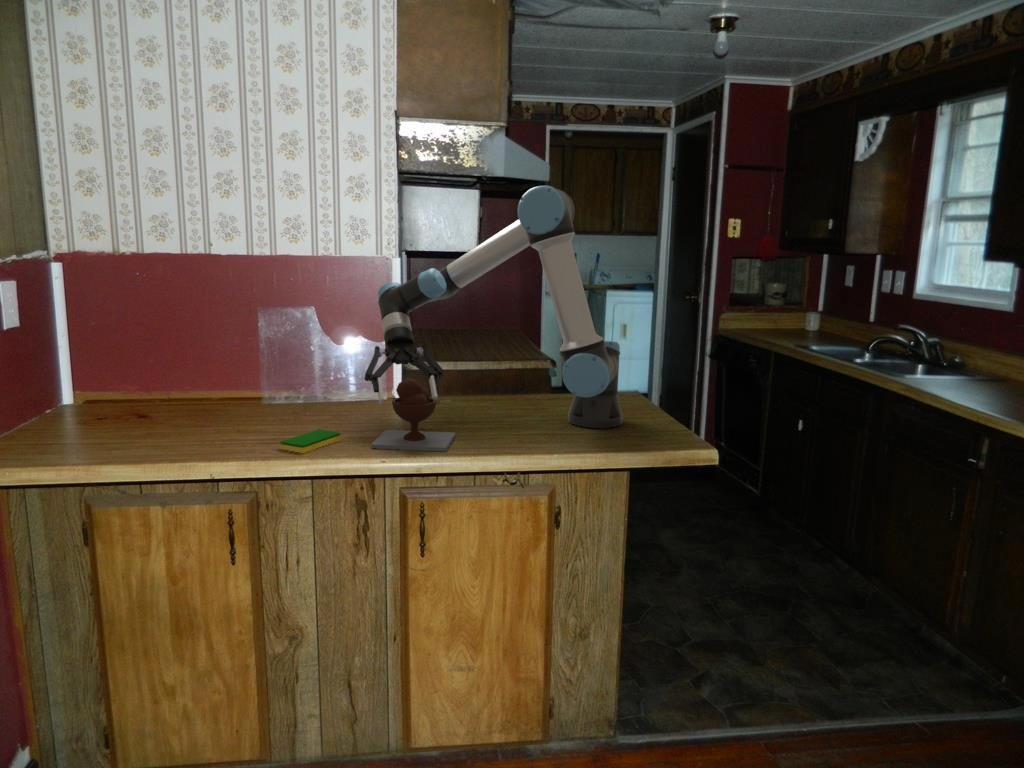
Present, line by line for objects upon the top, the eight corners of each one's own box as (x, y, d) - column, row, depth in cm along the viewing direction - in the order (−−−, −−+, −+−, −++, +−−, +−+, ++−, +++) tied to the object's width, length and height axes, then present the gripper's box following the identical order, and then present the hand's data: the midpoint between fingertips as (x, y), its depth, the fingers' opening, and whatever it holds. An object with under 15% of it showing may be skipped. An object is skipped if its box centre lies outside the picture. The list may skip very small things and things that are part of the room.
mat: (455, 436, 190) (455, 432, 190) (445, 451, 176) (445, 447, 176) (385, 433, 192) (385, 429, 191) (371, 448, 178) (371, 444, 178)
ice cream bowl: (429, 445, 178) (429, 383, 175) (385, 442, 180) (384, 381, 177) (442, 434, 188) (442, 375, 185) (400, 431, 190) (399, 373, 187)
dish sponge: (279, 451, 176) (279, 441, 175) (319, 438, 188) (319, 428, 187) (302, 455, 172) (302, 445, 172) (341, 441, 185) (341, 432, 184)
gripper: (441, 341, 206) (454, 406, 195) (349, 343, 198) (357, 411, 187) (445, 324, 200) (459, 390, 189) (351, 325, 192) (359, 394, 181)
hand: (408, 400), depth 188 cm, fingers open, 13 cm apart
